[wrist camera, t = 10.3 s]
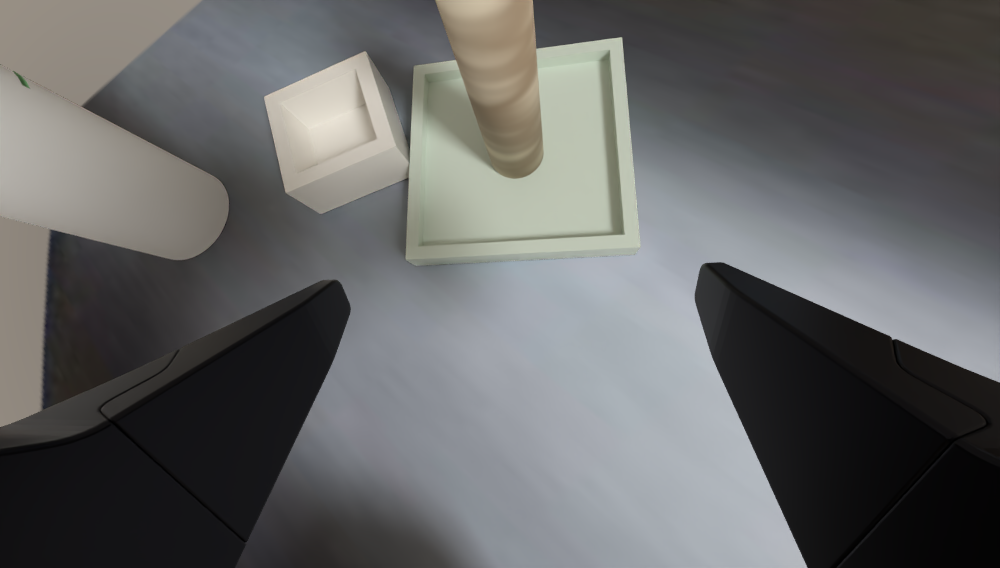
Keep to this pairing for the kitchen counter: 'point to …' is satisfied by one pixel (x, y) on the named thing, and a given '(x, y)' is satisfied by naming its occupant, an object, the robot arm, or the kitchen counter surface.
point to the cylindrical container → (100, 178)
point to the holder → (338, 135)
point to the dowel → (499, 77)
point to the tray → (539, 196)
